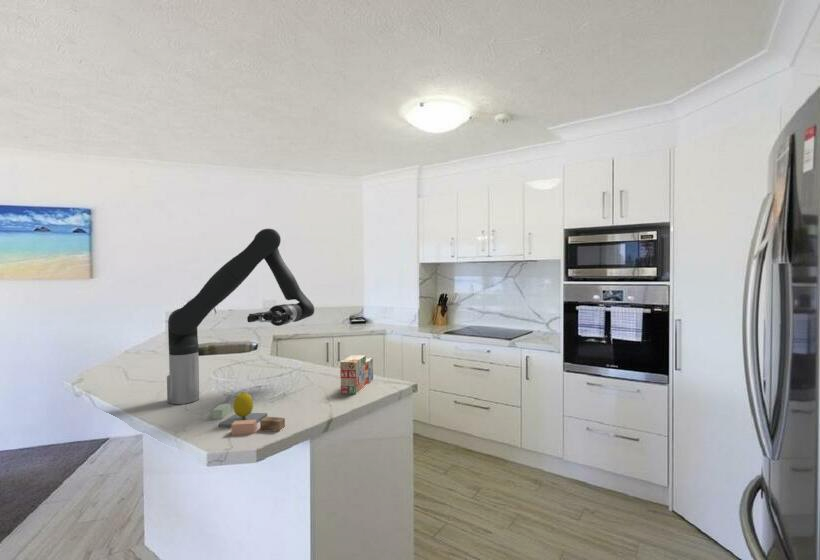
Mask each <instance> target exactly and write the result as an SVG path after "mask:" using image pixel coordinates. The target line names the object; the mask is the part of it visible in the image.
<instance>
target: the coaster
mask: <svg viewBox="0 0 820 560" xmlns="http://www.w3.org/2000/svg"><path fill="white" fill-rule="evenodd" d="M265 417H268V413H267V412H251V413H250V414H249V415H247V416H246V417H245V418H242V417H240V416H238V415H236V413H234V414H233V415H231V416H228V417H227V418H226V419H225V420H222V421H221V422H219V423H218V427H223V428H232V427H231V425H232V424H233V422H234V421H241V420H257V424H258V423H259V422H260V420H262V419H263V418H265Z"/></svg>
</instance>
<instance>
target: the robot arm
mask: <svg viewBox="0 0 820 560" xmlns="http://www.w3.org/2000/svg"><path fill="white" fill-rule="evenodd" d="M281 240H282V239H281V235H280V233H279V232H278V231H277V230H276V229H273V228H263V229H261V230H260V231H259V232H257V233H256V234H255V236H254V238H253V240H252V241H251V242H250V243H249V244H248V245H247V246H246V247H245V248H244V249H243V250H242V251H241V252H239V253H238V254H237V255H235V256H234V257H232V258H230V260H227V262H226V263H225V264H223V265H222V266H221V267H220V268H219V269H218V270H217V271H216V272H215V273H214V274H213V275H211V277H210V278H209V279H208V281H207V282H206V283H205V284H204V285H203V287H202V288H201V289H200V291H199V292H198V293H197V294H196V295H195V296H194V297H193V298H192V299H191V300H189V302H187V303H186V304H184V305H183V306H182V307H181V308H177V309H175V310H173V311H172V312H171V313H170V314H169V316H168V319H167V330H168V333H167V335H168V363H169V367H168V369H169V373H168V375H167V376H166V395H167V396H166V398H167V399H166V400H167V403H170V404H172V405H184V404H190V403H194V402H196V401H199V400H200V362H199V361H200V360H199V339H198V337H199V336H198V327H199V325H200V324H201V323H202V322H203V321H204V320H205V318H206V317H207V316H208V315H209V314H210V313H211V312H212V310H214V309H215V308H216V307H217V306H218V305H219V304H221V303H222V302H223V301H224V300H226V298H228V297H229V296H230V295H231V294H232V293H234V291H235V290H236V289H237V288H239V286H240V285H242V283H243V282H244V281H245V280H246V279H247V278H248V277H249V276H250V275H251V273H252V272H253V271H254V270H255V268H256V267H257V266H259V264H260V263H261V262H262V261H264V260H265V262H266V264H267V265H268V267H269V269H270V271H271V273H272V276H273V277H274V278H275V280H276V281H275V282H276V283H277V284H278V287H279V289H280V291H281V293H282V295H283V296H284V299H285V300H286V301H293V300H295V301H297V303H288V304H287V303H284V304H278V305H273V306H272V307H270V309H269V310H266V311H259V312H255V313H249V314H248V315H247V317H246V318H247V320H246V321H247V323H255V322H259V323H271V324H272V325H273V326H276V327H280V326H285V325H288V324H290V323H292V322H293V323H296V322H299V321H302V320H304V319H306V318H310V317H312V316H313V315H314V313H315V306H314V304H313V303H312V301H311V300H310V299H309V298H308V297H307V296H306V294H304V292H303V291H302V289H301V287H300V285H299V284H298V282H297V280H296V278H295V276H294V275H293V273H292V271H291V269H290V268H289V267H288V266H287V264H286V263H285V262H284V259H283V257H282V256H281V254H280V250H279V247H280V244H281Z"/></svg>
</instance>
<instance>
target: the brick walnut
mask: <svg viewBox="0 0 820 560" xmlns="http://www.w3.org/2000/svg"><path fill="white" fill-rule="evenodd" d="M259 422H260V423H259V424H260V427H259V428H260V431H264V430H276V431H275V432H281V431H282V430H283V429H282V428H284V427H286V418H285V417H278V416H277V417H275V416H266V417H265V418H263V419H262V420H260V421H259ZM281 429H282V430H281ZM284 429H285V428H284ZM280 430H281V431H280Z"/></svg>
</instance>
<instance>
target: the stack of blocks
mask: <svg viewBox="0 0 820 560" xmlns="http://www.w3.org/2000/svg"><path fill="white" fill-rule="evenodd" d="M373 362H374V361H373V357H367V356H366V355H365V354H364V355H363V354H356V355H355V354H351V355H350V356H348V357H346V358H344V359H342V360H340V362H339V363H340V364H339V365H340V371H339V373H340V394H341V393H357V392H358V393H359V391H360V390H361V389H362V388H363V389H364V388H365V387H366V386H367V385H368V384H370V383H371V382H372V381H373V380H374V363H373ZM372 379H373V380H372ZM371 380H372V381H371ZM370 381H371V382H370ZM369 382H370V383H369ZM366 384H367V385H366ZM365 385H366V386H365ZM364 386H365V387H364ZM363 389H362V390H363ZM362 390H361V391H362ZM361 391H360V392H361ZM358 393H357V394H358Z"/></svg>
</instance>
